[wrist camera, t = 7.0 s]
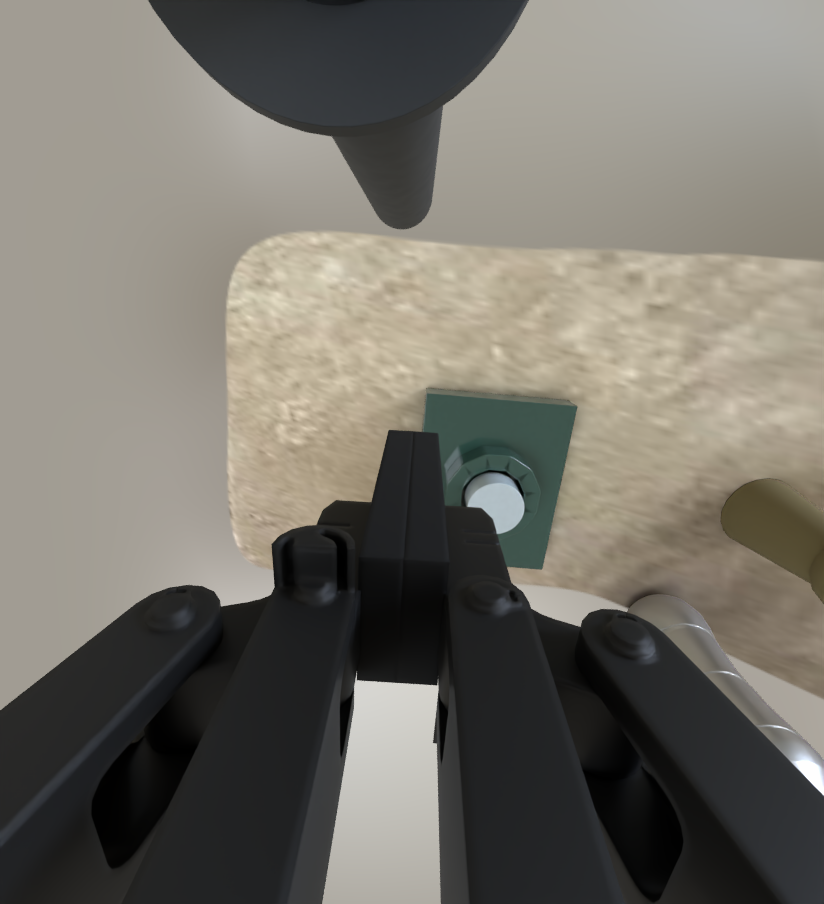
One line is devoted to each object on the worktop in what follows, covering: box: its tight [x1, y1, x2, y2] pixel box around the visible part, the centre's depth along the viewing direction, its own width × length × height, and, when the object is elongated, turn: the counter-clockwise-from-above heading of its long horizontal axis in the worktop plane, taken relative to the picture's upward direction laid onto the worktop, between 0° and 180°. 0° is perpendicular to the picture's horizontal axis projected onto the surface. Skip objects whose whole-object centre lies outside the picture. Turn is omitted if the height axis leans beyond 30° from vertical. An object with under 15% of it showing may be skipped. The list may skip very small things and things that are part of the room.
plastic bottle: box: [627, 594, 824, 795], centre depth 31 cm, size 6×7×20 cm
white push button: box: [465, 472, 524, 534], centre depth 32 cm, size 4×4×2 cm
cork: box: [721, 479, 824, 604], centre depth 32 cm, size 6×6×11 cm
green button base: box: [422, 388, 577, 570], centre depth 34 cm, size 14×11×4 cm
